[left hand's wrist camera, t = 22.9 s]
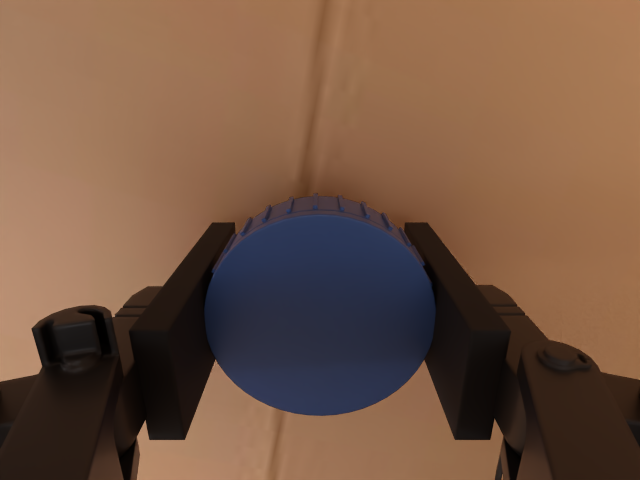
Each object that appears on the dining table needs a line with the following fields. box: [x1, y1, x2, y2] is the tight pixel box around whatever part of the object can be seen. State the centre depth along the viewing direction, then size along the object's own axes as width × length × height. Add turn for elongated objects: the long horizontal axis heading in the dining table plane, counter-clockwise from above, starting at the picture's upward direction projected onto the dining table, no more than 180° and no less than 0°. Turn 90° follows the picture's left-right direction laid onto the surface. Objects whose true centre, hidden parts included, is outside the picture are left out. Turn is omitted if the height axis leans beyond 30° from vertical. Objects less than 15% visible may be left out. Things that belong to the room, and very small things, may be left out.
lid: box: [204, 193, 436, 416], centre depth 11 cm, size 6×6×2 cm
